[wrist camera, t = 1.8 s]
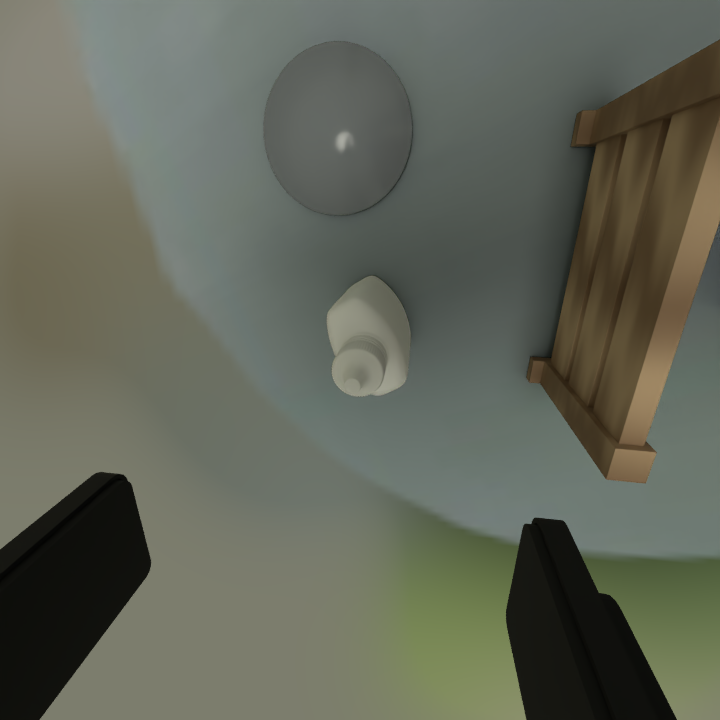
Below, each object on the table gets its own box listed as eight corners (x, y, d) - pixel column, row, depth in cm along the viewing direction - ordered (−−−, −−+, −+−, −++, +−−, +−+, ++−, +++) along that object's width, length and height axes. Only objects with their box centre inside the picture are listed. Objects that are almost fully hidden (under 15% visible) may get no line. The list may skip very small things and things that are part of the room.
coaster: (261, 48, 22) (257, 44, 22) (417, 42, 21) (417, 37, 21) (272, 213, 26) (268, 213, 25) (407, 216, 24) (407, 216, 24)
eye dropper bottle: (351, 351, 28) (306, 440, 17) (348, 274, 26) (296, 319, 15) (410, 352, 28) (403, 447, 17) (412, 274, 26) (406, 322, 15)
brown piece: (577, 113, 21) (718, 25, 11) (635, 113, 21) (837, 21, 11) (526, 377, 27) (589, 477, 17) (571, 381, 27) (663, 485, 17)
